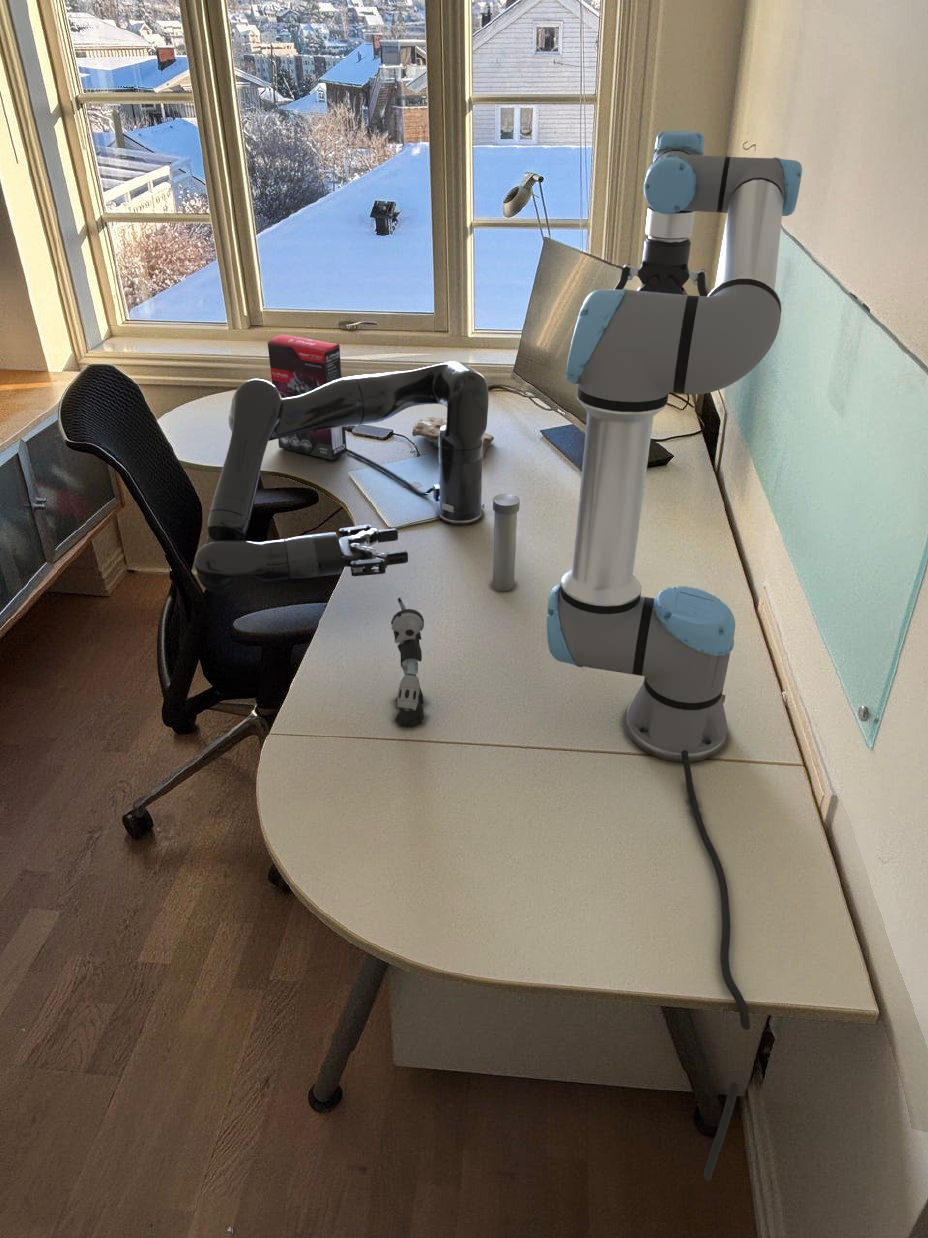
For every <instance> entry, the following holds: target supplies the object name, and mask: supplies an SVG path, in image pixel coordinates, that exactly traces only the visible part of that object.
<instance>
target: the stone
mask: <svg viewBox="0 0 928 1238" xmlns="http://www.w3.org/2000/svg"><path fill="white" fill-rule="evenodd" d="M445 424H447V421H445V420H444V419H443V418H439V417H434V416H429V417H427V418H419V419H418V420H417V422H415V423H413V426H412V432H411V434H412V436H413V437H417V436H419V437H420V436H421V437H424V438H425V440H426V441H428V442H431V443H433V446H434V447H437V448H439V430H440V428H441V427H442V426H443V425H445ZM494 439H495V437H494V436H493V435H492V434H489V433H487V432H485V433H484V435H483V448H482V458H483V457H484V455H485V454H486V451H487V449H488V448H489V446H490V445H491V444H492V442H493V441H494Z"/></svg>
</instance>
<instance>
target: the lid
mask: <svg viewBox="0 0 928 1238" xmlns="http://www.w3.org/2000/svg"><path fill="white" fill-rule="evenodd" d="M520 502H521V500H520V498H519V497H518V495H515V494H512V493H500V494H497V495H495V496H493V498H492V510H493V512H494V513H495V512H496V513H498V514H502V515H511V514H515V513H517V514H518V512H519V511H520V507H521V505H520V504H521V503H520Z"/></svg>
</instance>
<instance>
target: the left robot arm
mask: <svg viewBox="0 0 928 1238" xmlns="http://www.w3.org/2000/svg"><path fill="white" fill-rule="evenodd" d="M489 392H490V391H489V386H488V382H487V380H486V378H485V377H484V376H483V375H482V374H481V373H480V372H479V371H477V370H475V369H473V367H471V366H470V365H468V364H465V363H463V362H461V361H447V362H442V363H438V364H434V365H430V366H426V367H422V368H417V369H412V370H404V371H403V370H402V371H391V372H382V373H372V374H370V373H369V374H361V375H352V376H346V377H342V378H341V379H338V380H335V381H332V382H330V383H328V384H326V385H323V386H321V387H319V388H317V389H315V390H313V391H310V392H308V393H306V394H303V395H300V396H296V397H291V398H282V397H281V395H280V392H279V391H278V390H277V388H276V387H275V386H274V385H273V384H272V382H270V381H268V380H265V379H260V378H252V379H248V380H246V381H244V382H243V383H242V384H241V383H240V385H239V387H237V389H236V390H235V391H234V394H233V395H232V396H233V397H232V399H231V403H230V406H229V412H228V426H229V429H230V431H231V435H230V441H229V445H228V449H227V453H226V456H225V460H224V463H223V465H222V469H221V472H220V474H219V478H218V481H217V484H216V487H215V490H214V494H213V498H212V501H211V505H210V509H209V514H208V517H207V536H206V541H205V544H203V545H202V546H200V548H198V549H197V551H196V552H195V556H194V568H195V570H196V574H197V577H198V581H199V582H200V584H201V585H202V586H203V587H204V588H205V589H206V590H208V591H209V592H212V593H215V594H217V593H219V594H220V593H221V594H222V593H224V592H227V591H229V590H230V589H232V588H233V587H234V586H235V584H237V581H238V579H239V578H246V577H247V578H248V577H249V578H250V577H251V578H252V577H253V578H256V580H258V581H261V582H273V581H281V580H288V579H310V578H318V577H326V576H334V575H335V576H336V575H341V573H342V572H343V568H344V567H345V568H350V572H351V573H350V574H351V575H350V576H351V577H363V576H365V577H366V576H373V575H374V576H375V575H385V574H386V573H387V572H386V570H387V568H388V566H393V565H402V564H407V563H408V562H409V553H408V551H407V550H406V549H405V550H396V551H395V550H394V551H388V552H386V553H385V552H381V551H377V550H376V549H375V547H374V548H373V547H371V546H373V545H375V544H377V543H388V542H389V543H390V542H397V541H398V540H399V532H398V529H397V528H395V527H394V528H386V529H377V528H372V525H371V524H361V525H354V526H348V527H347V526H346V527H341V528H339V536H338V533H337V532H336V531H329V532H321V533H312V534H304V535H303V534H302V535H296V536H291V537H288V538H281V539H271V540H265V541H251V540H245V539H246V536H247V532H248V529H249V526H250V522H251V518H252V515H253V510H254V505H255V501H256V496H257V490H258V485H259V481H260V474H261V470H262V464H263V461H264V456H265V453H266V449H267V446H268V443H269V442H271V441H274V440H278V439H279V438H282V437H286V436H290V435H294V434H298V433H303V432H308V431H315V430H323V429H331V428H337V427H344V426H345V427H352V426H354V427H355V426H361V425H368V424H375V423H380V422H383V421H386V420H389V419H390V418H392V417H394V416H396V415H397V414H399V413H400V412H402V411H404V410H406V409H409V408H411V407H416V406H422V405H423V406H424V405H442V406H444V407H446V422H447V424H445V425H443V426H442V427H441V428H440V430H439V447H438V484H433V485H432V486H433V487H430V488H429V489H427V490H426V491H425V492H423V491H420V490H418V489H416V487H414V486H413V485H412V484H411V483H409V482H408V481H407V480H405V479H404V478H402V477H400V476H399V475H397V474H396V473H394V472H393V471H391V470H389V469H388V468H386V467H384V466H382V465H381V464H379V463H376V462H375V461H374V460H371V459H369V458H367V457H365V456H364V455H362V454H359V453H358V452H355V451H353V450H352V449H349V448H347V452H346V453H347V454H350V455H352V456H355V457H357V458H359V459H361V460H363V461H364V462H367V463H368V464H370V465H372V466H374V467H376V468H378V469H379V470H381V471H382V472H384V473H386V474H387V475H390V476H391V477H393V478H394V479H396V480H397V481H399V482H401V483H402V484H403V485H405V486H406V487H408V488H409V489H410V490H411V491H412V492H414V493H415V494H417V495H418V496H422V497H423V496H428V495H429V494H431V492H432V493H433V496H432V497H433V499H434V502H437V503H438V517H439V519H440V520H441V521H443V522H445V523H447V524H451V525H456V526H457V525H458V526H463V525H471V524H474V523H476V522H478V521H480V519H481V518H482V516H483V510H482V503H483V502H482V499H483V498H482V497H483V457H482V448H483V435H484V433H486V430H487V426H488V418H489V417H488V416H489V415H488V414H489V400H490V399H489V398H490V397H489V396H490V393H489ZM425 493H429V494H425ZM374 567H375V568H374Z"/></svg>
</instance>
